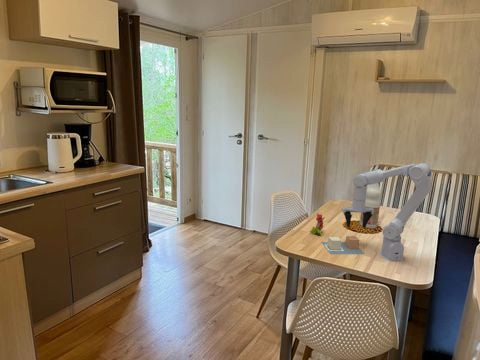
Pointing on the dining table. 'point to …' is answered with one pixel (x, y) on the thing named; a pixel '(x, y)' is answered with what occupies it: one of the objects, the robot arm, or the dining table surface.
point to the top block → (352, 242)
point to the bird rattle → (318, 225)
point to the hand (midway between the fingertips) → (356, 226)
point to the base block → (334, 243)
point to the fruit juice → (372, 205)
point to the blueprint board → (342, 249)
